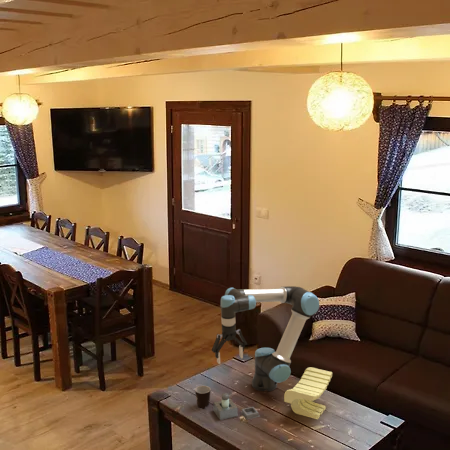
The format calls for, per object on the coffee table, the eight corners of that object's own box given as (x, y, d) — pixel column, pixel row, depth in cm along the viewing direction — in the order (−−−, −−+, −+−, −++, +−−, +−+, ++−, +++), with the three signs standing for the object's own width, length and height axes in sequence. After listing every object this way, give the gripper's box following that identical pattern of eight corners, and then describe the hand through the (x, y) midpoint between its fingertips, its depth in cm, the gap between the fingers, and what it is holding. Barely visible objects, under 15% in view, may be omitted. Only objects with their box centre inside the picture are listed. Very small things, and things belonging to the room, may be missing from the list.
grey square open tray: (253, 410, 312) (253, 405, 311) (260, 418, 304) (260, 412, 304) (240, 413, 309) (240, 408, 308) (246, 421, 301) (246, 416, 301)
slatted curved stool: (304, 394, 329) (305, 365, 325) (331, 401, 321) (332, 372, 317) (283, 419, 303) (284, 388, 299) (312, 427, 295) (312, 396, 292)
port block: (230, 408, 314) (230, 398, 313) (237, 417, 305) (237, 407, 303) (213, 412, 310) (213, 402, 309) (220, 421, 301) (220, 411, 300)
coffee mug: (208, 410, 312) (208, 394, 310) (193, 409, 314) (193, 392, 312) (213, 399, 323) (213, 383, 321) (198, 398, 325) (198, 382, 323)
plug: (230, 416, 306) (230, 395, 304) (223, 417, 305) (223, 397, 302) (227, 412, 310) (227, 392, 307) (220, 414, 309) (220, 393, 306)
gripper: (246, 316, 313) (247, 352, 317) (204, 326, 303) (206, 362, 308) (252, 321, 306) (253, 357, 311) (210, 331, 296) (211, 368, 301)
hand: (230, 360), depth 309 cm, fingers open, 13 cm apart
